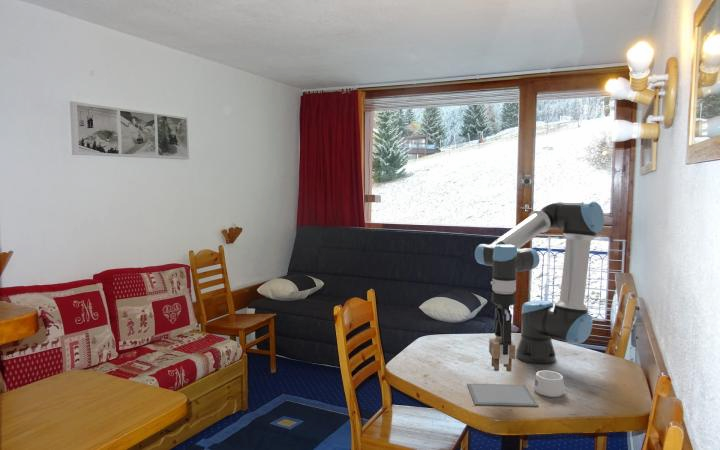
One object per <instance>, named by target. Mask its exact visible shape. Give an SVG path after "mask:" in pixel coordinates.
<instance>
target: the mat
mask: <svg viewBox="0 0 720 450" xmlns="http://www.w3.org/2000/svg"><path fill="white" fill-rule="evenodd" d="M466 384H467V387H468V390H469V393H470V395H471V398H472V401H473V404H474V405H475V406H491V407H493V406H494V407H500V406H502V407H531V408H533V407H534V408H537V407H538V408H539V404H538V402H537V401H536V399H535V398H534V396H533V395H532V393H531V392H530V391H529V389H528V387H527V386H526V385H525V384H499V383H498V384H497V383H495V384H493V383H491V384H490V383H466Z"/></svg>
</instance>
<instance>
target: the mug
mask: <svg viewBox="0 0 720 450" xmlns="http://www.w3.org/2000/svg"><path fill="white" fill-rule="evenodd" d="M533 389H534V391H535V392H536V393H537V394H538V395H541V396H545V397H549V398H558V397H562V396H563V395H564V394H565V385H564V376H563V375H562V374H561V373H559V372H557V371H553V370H538V371H537V372H536V373H535V378H534V385H533Z"/></svg>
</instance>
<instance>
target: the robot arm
mask: <svg viewBox="0 0 720 450" xmlns="http://www.w3.org/2000/svg"><path fill="white" fill-rule="evenodd" d="M604 225H605V215H604V210H603V209H602V206H601V205H600V204H599V203H598V202H597V201H593V200H585V199H582V200H580V199H578V200H577V199H576V200H575V199H573V200H571V199H557V200H551V201H549V202H546V203H544V204H542V205H540V206H538V207H537V208H535V209H534V210H532V211H531V212H530V213H528V217H527V218H525V219H523V220H522V221H521V222H520V223H518V224H516V225H515V226H514V227H512V228H511V229H510V230H508V231H506V232H505V233H503V234H502V235H501V236H499V237H498V238H497V239H495V240H494V241H492V242H491V243H480V244H479V245H477V246H476V248H475V250H474V258H475V260H476V263H478V264H480V265H484V266H489V267H492V281H490V284H491V286H492V287H491V290H492V292H491V302H492V304H494V325H493V332H494V338H500V339H501V343H499V345H500V359H499V365H500V364H501V365H504V364H509V345H511V341H512V319H513V318H512V317H513V315H512V313H511V309H510V306H514V305H515V304H516V293H515V292H516V291H517V273H521V272H527V271H528V272H529V271H531V270H534V269H536V268H537V267H538V266H539V264H540V255H539V253H538V251H536V250H535V249H534V248H531V247H529V248H527V247H524V248H522V247H523V246H525V245H526V244H527V243H529V242H530V241H531V240H533V239H534V238H536V237H537V236H538V235H539V234H541V233H547V232H548V231H549V230H555V229H556V230H562V235H563V236H564V237H565V249H564V256H563V257H564V258H563V265H562V275H561V284H560V292H559V293H560V294H559V300H558V301H556V302H555V303H554V304H553V302H552V301H550V300H529V301H527V302H524V303H523V304H522V305H521V321H520V323H521V328H520V329H521V331H520V333H521V335H520V340H519V342H518V345H517V347H516V349H515V357H516V358H517V359H518V360H521V361H523V362H526V363H531V364H535V365H536V364H537V365H538V364H539V365H545V364H547V365H548V364H552V363H554V362H555V361H556V351H555V347H554V345H553V342H552V338H553V339H557V340H561V341H564V342H567V343H572V344H577V345H578V344H582V343H584V342H585V341H586V340H587V339H588V338H589V337H590V334H591V333H592V329H593V323H594V322H593V321H594V320H593V318H592V316H591V315H590V314H588V310H589V309H588V307H587V306H586V305H585V295H586V287H587V279H588V270H589V269H588V268H589V260H590V251H591V242H592V241H593V240H594V239H595V238H596V237H597V233H599V232H600V233H601V231H602V230H603V227H604Z"/></svg>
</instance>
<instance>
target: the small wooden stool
mask: <svg viewBox="0 0 720 450" xmlns="http://www.w3.org/2000/svg"><path fill="white" fill-rule="evenodd" d="M488 342H489V343H488V352H489V354H490V355H491V367H493V371H495V372H499V371H500V345H499V343H501V339H500V338H495V337H491V338H489V340H488ZM515 359H516V345H515V343H514V342H513V341H512V340H511V345H509V364H502V365H503V367H504V368H506V369H505V370H506V372H512V363H513V360H515Z"/></svg>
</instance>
